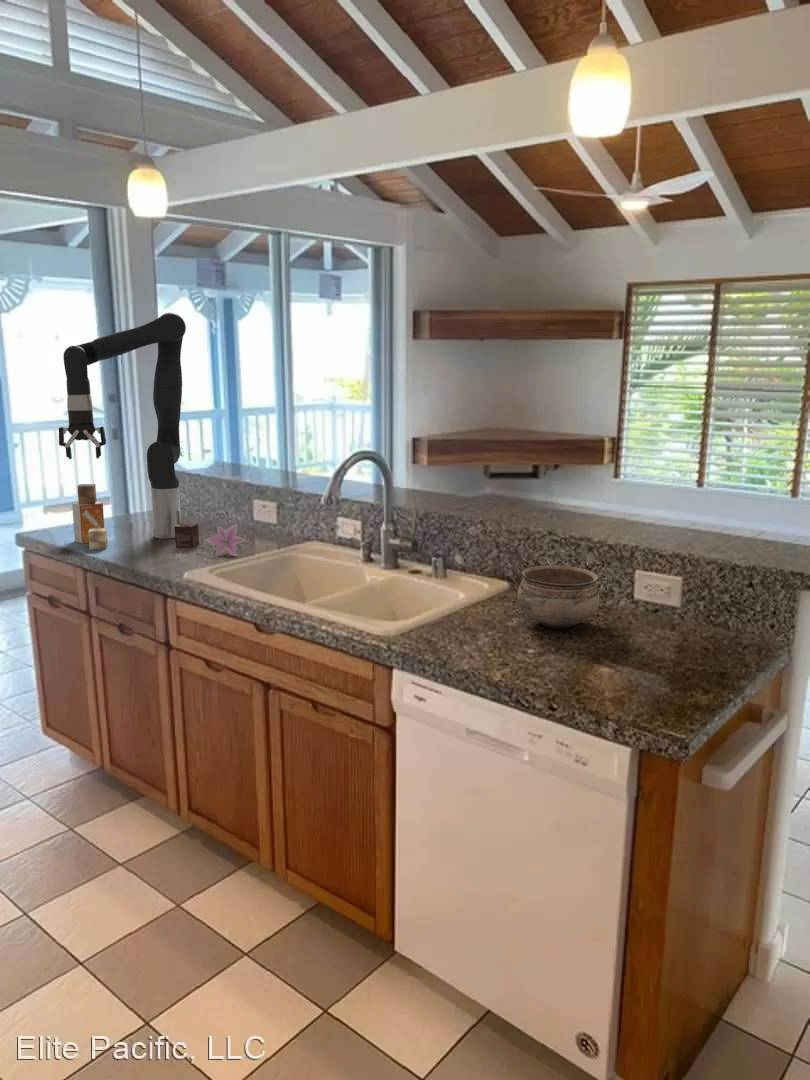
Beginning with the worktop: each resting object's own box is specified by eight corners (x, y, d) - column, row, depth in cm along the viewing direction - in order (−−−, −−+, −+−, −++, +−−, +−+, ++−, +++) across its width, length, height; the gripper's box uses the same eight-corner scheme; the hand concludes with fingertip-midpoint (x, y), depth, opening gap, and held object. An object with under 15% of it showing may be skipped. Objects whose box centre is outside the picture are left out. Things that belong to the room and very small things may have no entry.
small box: (82, 544, 266) (79, 505, 263) (74, 541, 270) (71, 502, 267) (105, 540, 271) (103, 502, 268) (98, 537, 276) (95, 500, 273)
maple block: (107, 545, 264) (106, 528, 263) (106, 549, 260) (104, 531, 258) (91, 546, 263) (90, 528, 262) (89, 549, 258) (88, 531, 257)
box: (199, 544, 268) (198, 523, 266) (193, 548, 262) (192, 526, 260) (182, 544, 268) (181, 522, 267) (175, 548, 262) (174, 526, 261)
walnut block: (96, 501, 271) (95, 483, 270) (94, 503, 266) (93, 486, 265) (80, 501, 270) (79, 484, 268) (78, 504, 265) (77, 486, 264)
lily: (202, 555, 256) (201, 535, 251) (223, 537, 264) (222, 516, 258) (231, 569, 253) (230, 548, 248) (251, 550, 261) (251, 530, 255)
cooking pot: (551, 605, 205) (554, 558, 202) (619, 621, 192) (622, 572, 189) (492, 627, 187) (494, 576, 184) (562, 647, 174) (565, 593, 172)
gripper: (104, 408, 267) (108, 457, 270) (58, 408, 263) (62, 457, 267) (101, 409, 259) (105, 459, 263) (54, 409, 256) (58, 460, 260)
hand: (84, 458), depth 265 cm, fingers open, 8 cm apart
